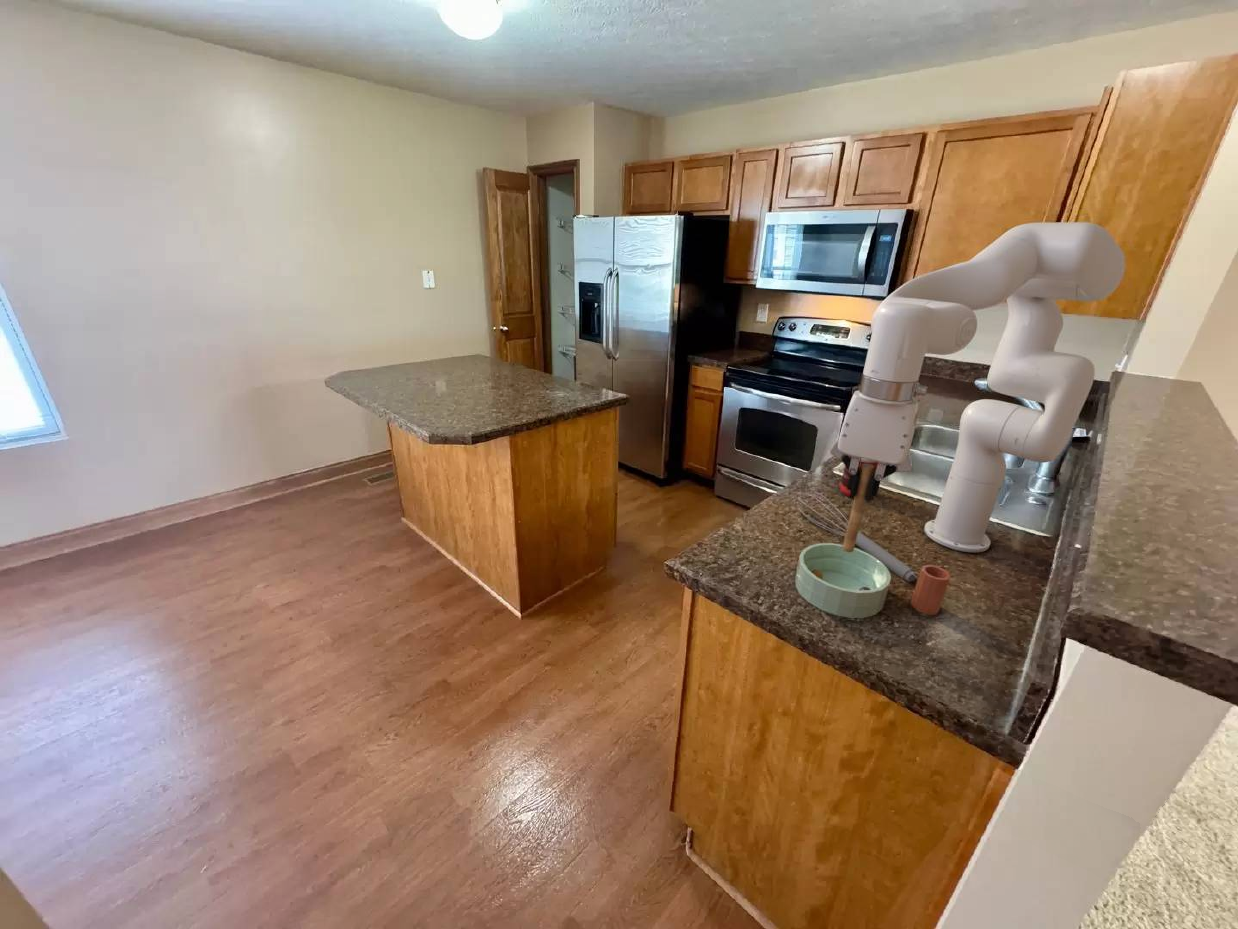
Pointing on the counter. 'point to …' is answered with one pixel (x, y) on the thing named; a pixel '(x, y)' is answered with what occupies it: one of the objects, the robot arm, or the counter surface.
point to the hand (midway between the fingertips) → (860, 495)
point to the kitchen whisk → (871, 548)
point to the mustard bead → (817, 573)
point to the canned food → (847, 475)
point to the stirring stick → (857, 508)
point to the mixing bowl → (842, 580)
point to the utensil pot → (930, 589)
